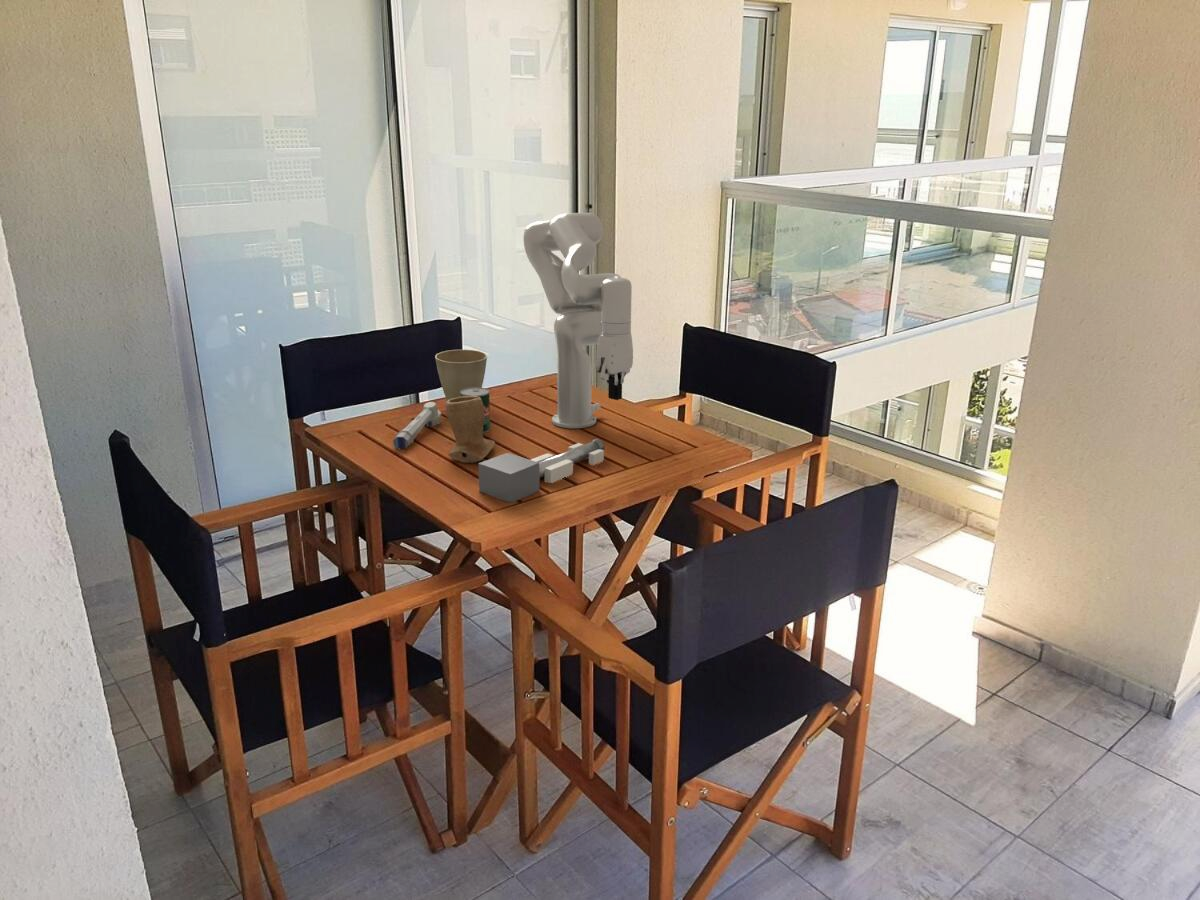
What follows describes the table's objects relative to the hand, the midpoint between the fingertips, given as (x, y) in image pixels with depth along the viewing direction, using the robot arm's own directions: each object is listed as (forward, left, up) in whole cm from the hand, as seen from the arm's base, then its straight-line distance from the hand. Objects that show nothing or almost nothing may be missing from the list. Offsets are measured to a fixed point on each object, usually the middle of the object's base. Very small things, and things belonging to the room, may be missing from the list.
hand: (615, 398), depth 241 cm
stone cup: (+28, -26, -14) cm, 40 cm away
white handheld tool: (+26, -47, -15) cm, 56 cm away
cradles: (+19, -1, -14) cm, 23 cm away
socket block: (+38, -1, -14) cm, 40 cm away
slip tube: (+18, -1, -14) cm, 22 cm away
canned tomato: (+13, -39, -14) cm, 43 cm away
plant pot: (+2, -56, -14) cm, 57 cm away
